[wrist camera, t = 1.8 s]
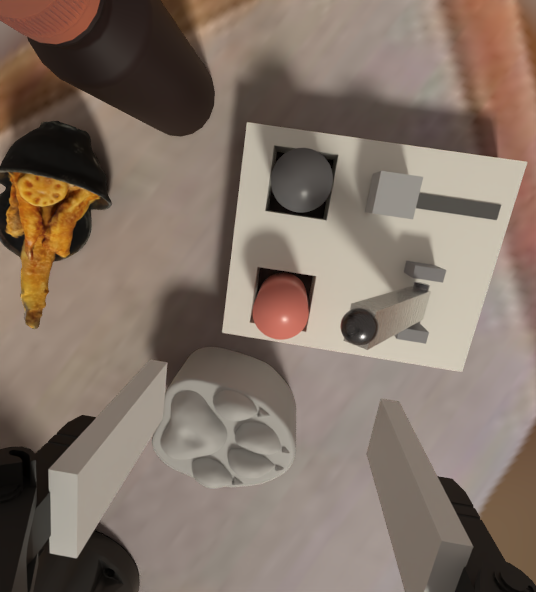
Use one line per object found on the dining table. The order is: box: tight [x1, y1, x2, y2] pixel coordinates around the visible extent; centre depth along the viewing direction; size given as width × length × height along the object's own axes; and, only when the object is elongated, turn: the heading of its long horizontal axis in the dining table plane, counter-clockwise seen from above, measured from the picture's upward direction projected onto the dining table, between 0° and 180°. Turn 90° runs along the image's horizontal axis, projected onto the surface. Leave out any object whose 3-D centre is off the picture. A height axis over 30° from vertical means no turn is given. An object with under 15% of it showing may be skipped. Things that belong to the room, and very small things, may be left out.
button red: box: [252, 272, 309, 340], centre depth 31 cm, size 4×4×6 cm
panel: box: [222, 122, 527, 372], centre depth 32 cm, size 22×18×6 cm
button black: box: [271, 148, 333, 212], centre depth 29 cm, size 4×4×6 cm
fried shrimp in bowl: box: [0, 121, 112, 329], centre depth 32 cm, size 9×11×18 cm
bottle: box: [0, 0, 215, 136], centre depth 23 cm, size 7×7×20 cm
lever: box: [340, 282, 431, 350], centre depth 26 cm, size 2×3×13 cm
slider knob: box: [365, 171, 423, 219], centre depth 28 cm, size 3×3×3 cm
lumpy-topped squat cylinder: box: [152, 347, 296, 489], centre depth 36 cm, size 10×13×9 cm
